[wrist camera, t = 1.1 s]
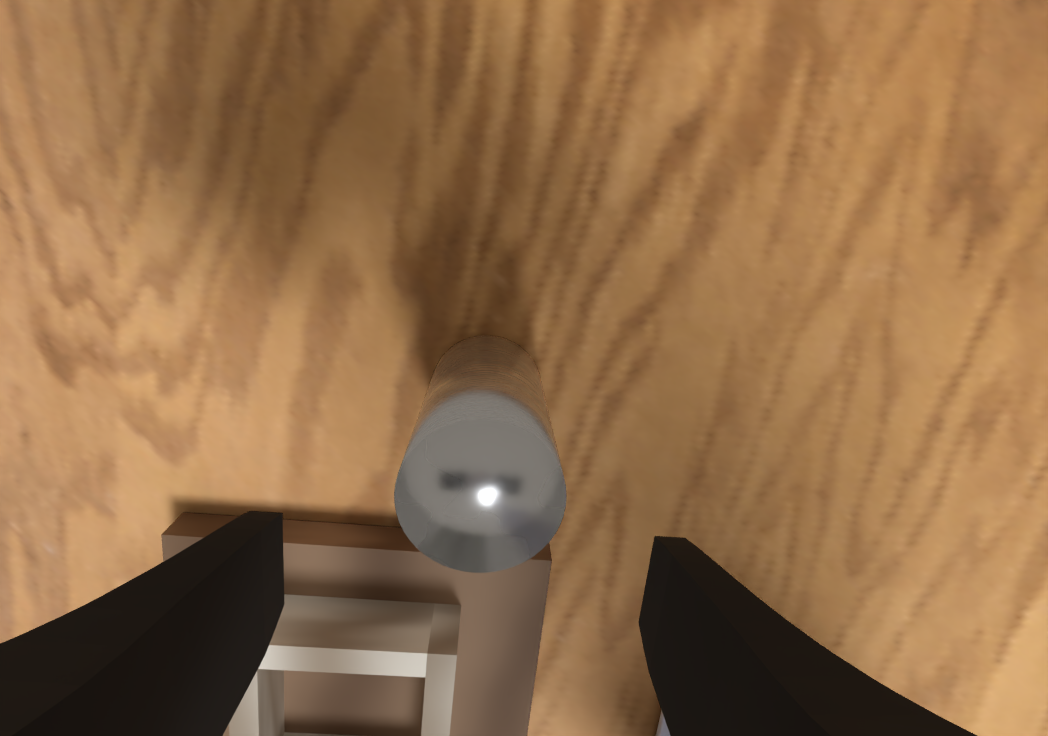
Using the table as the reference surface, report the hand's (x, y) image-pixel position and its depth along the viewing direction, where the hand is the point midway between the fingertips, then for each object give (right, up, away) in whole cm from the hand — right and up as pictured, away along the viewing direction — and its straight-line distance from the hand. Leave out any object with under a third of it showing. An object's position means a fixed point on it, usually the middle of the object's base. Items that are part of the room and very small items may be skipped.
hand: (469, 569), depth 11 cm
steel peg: (0, +3, +10) cm, 10 cm away
